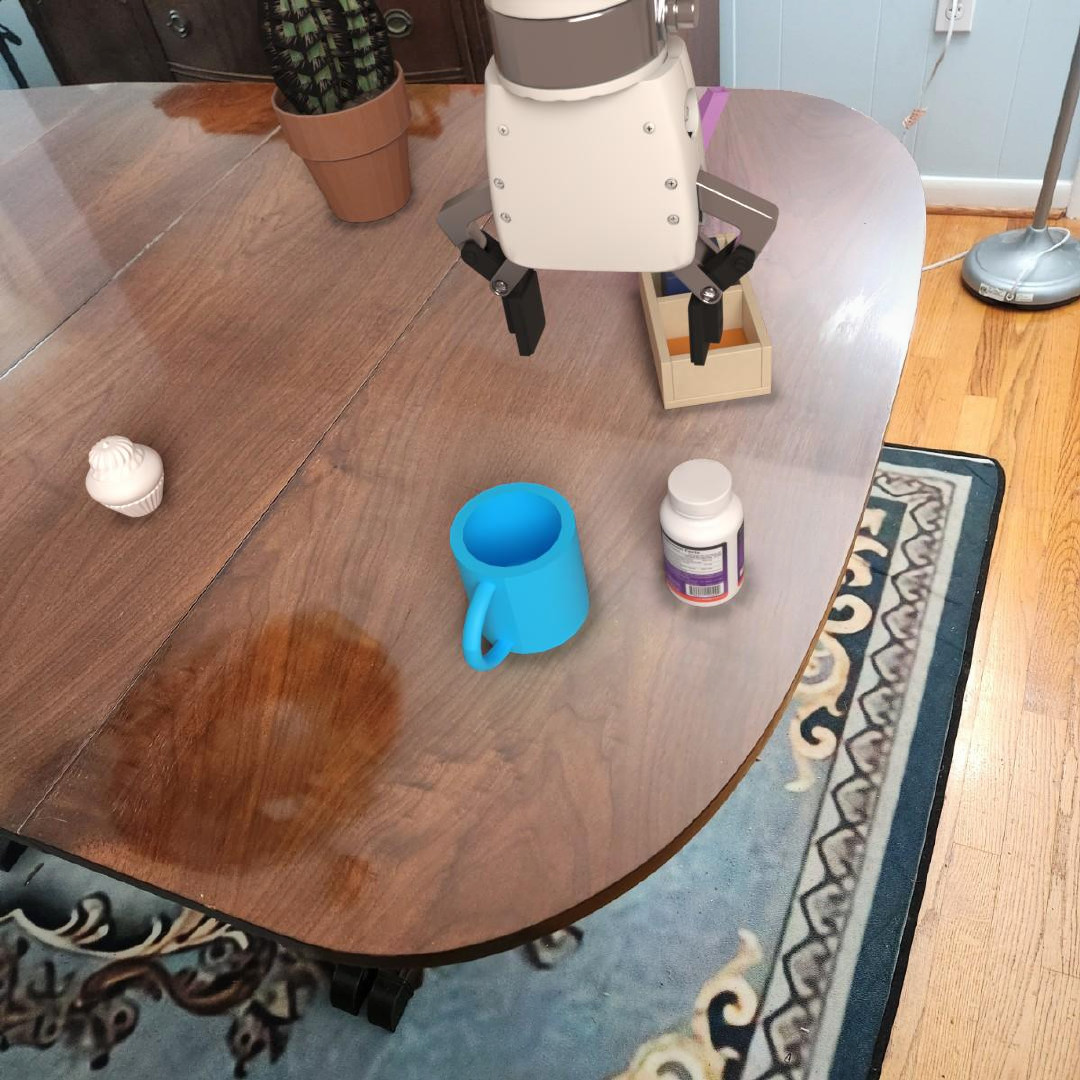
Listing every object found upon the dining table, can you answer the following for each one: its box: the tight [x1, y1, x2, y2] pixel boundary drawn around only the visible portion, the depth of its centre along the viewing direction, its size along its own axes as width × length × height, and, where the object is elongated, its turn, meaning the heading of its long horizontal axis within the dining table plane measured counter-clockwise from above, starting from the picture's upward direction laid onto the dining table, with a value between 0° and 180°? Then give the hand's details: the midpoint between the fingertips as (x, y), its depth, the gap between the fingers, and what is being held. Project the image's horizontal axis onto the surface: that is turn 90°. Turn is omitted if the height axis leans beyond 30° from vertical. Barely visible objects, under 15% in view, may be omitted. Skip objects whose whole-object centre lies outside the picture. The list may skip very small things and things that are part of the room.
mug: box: [449, 481, 591, 672], centre depth 66 cm, size 12×8×8 cm
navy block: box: [660, 237, 720, 297], centre depth 87 cm, size 5×5×5 cm
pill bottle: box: [659, 458, 745, 608], centre depth 66 cm, size 5×5×10 cm
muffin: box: [85, 434, 165, 518], centre depth 81 cm, size 6×6×7 cm
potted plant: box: [256, 0, 413, 224], centre depth 102 cm, size 14×14×25 cm
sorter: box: [637, 231, 773, 411], centre depth 85 cm, size 9×16×5 cm, turn 3°
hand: (615, 345), depth 56 cm, fingers open, 9 cm apart
